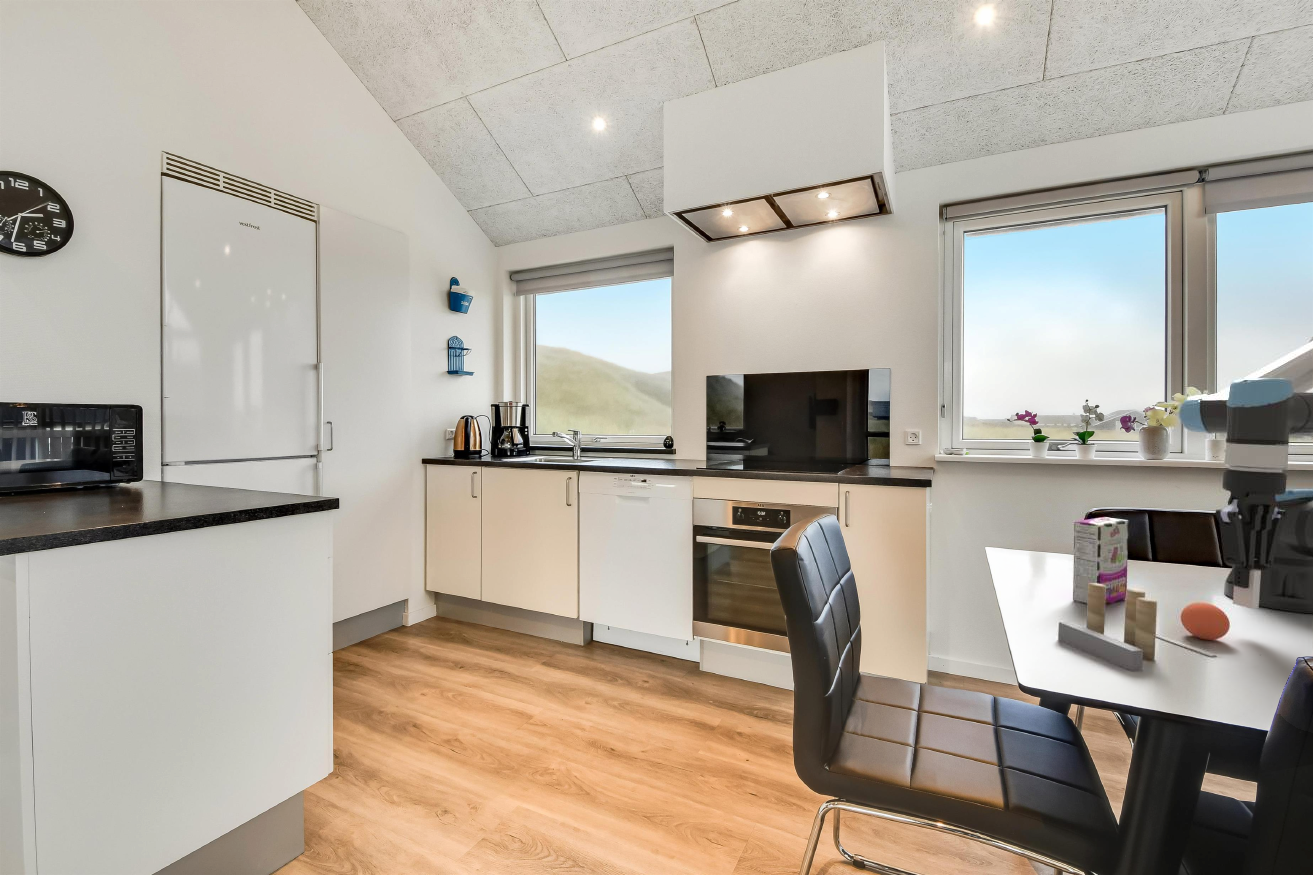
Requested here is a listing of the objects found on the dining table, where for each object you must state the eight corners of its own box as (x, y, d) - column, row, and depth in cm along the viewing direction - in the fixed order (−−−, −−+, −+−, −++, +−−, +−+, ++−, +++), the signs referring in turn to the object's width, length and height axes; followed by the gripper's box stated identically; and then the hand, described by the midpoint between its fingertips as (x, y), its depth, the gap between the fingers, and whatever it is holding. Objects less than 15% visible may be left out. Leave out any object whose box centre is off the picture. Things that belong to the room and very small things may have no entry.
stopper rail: (1067, 638, 96) (1068, 621, 96) (1142, 669, 85) (1143, 649, 85) (1058, 639, 96) (1058, 621, 96) (1131, 671, 84) (1132, 650, 84)
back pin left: (1142, 653, 91) (1144, 597, 90) (1158, 659, 88) (1161, 602, 88) (1130, 654, 90) (1132, 598, 90) (1146, 661, 88) (1148, 603, 87)
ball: (1197, 630, 101) (1198, 596, 100) (1238, 643, 95) (1240, 608, 95) (1170, 632, 99) (1172, 598, 99) (1210, 646, 93) (1212, 610, 93)
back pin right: (1093, 634, 98) (1095, 582, 98) (1107, 639, 96) (1109, 586, 96) (1082, 635, 98) (1084, 583, 98) (1095, 640, 96) (1098, 587, 95)
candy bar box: (1099, 592, 122) (1102, 516, 121) (1127, 599, 117) (1130, 520, 117) (1070, 600, 117) (1073, 520, 116) (1098, 607, 112) (1101, 524, 112)
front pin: (1131, 641, 95) (1133, 588, 95) (1146, 647, 93) (1149, 592, 93) (1120, 643, 95) (1122, 589, 94) (1134, 648, 92) (1137, 593, 92)
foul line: (1137, 628, 102) (1137, 626, 102) (1216, 656, 90) (1216, 654, 90) (1131, 628, 101) (1131, 627, 101) (1210, 656, 90) (1210, 655, 90)
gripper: (1255, 467, 103) (1247, 597, 104) (1200, 467, 100) (1191, 600, 101) (1311, 471, 96) (1301, 611, 97) (1252, 471, 93) (1243, 615, 94)
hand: (1245, 605), depth 99 cm, fingers closed
